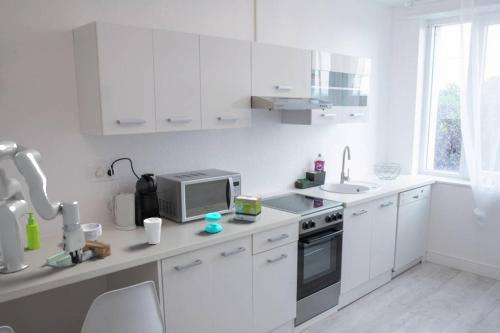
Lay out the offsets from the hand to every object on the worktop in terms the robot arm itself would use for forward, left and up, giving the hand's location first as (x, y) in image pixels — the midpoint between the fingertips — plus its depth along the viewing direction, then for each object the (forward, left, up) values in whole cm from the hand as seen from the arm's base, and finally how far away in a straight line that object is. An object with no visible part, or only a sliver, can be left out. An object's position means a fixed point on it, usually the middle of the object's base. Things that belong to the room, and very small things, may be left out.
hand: (75, 262), depth 191 cm
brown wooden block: (+14, 0, -1) cm, 14 cm away
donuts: (+69, -38, -1) cm, 79 cm away
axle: (+11, 0, -1) cm, 11 cm away
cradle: (+1, +9, -1) cm, 9 cm away
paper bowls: (+29, +21, -1) cm, 36 cm away
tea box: (+99, -48, -1) cm, 110 cm away
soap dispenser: (+9, +40, -1) cm, 41 cm away
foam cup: (+39, -17, -1) cm, 42 cm away
